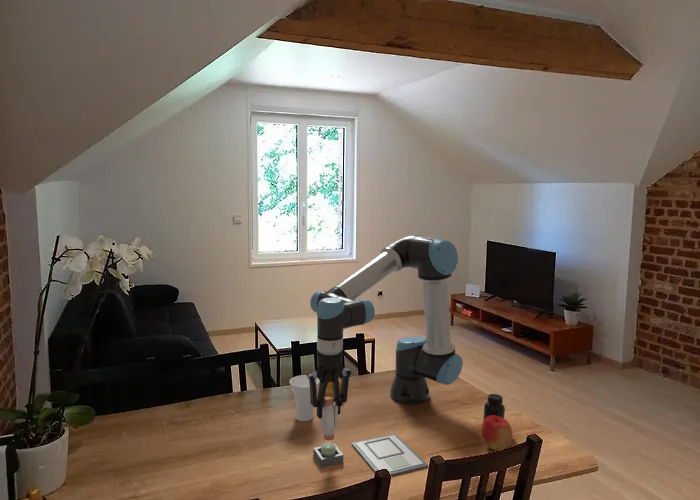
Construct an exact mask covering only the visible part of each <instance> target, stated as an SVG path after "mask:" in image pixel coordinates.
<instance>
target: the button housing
mask: <svg viewBox="0 0 700 500" xmlns="http://www.w3.org/2000/svg"><path fill="white" fill-rule="evenodd" d="M333 444H334V445H335V446H336V452H335V455H332V456H328V457H323V456H322V455H321V446H316V447H313V449H312V450H313V451H312V452H313V453H312V454H313V455H312V456H313V457H314V459H315V461H316V462H317V463H318V465H319V467H320V468H325V467H330V466H334V465H339V464H343V463H344V453H343V452H342V451H341V450H340V449H339V447H338V446H337V444H335V443H333Z"/></svg>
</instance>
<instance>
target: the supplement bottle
mask: <svg viewBox="0 0 700 500" xmlns="http://www.w3.org/2000/svg"><path fill="white" fill-rule="evenodd" d="M503 398H504V397H503V396H502V395H501V394H498V393H497V394H496V393H489V394H488V395H487V401H486V402H485V403H484V407H483V419H482V422H483V421H484V419H485V418H486V417H488V416H490V415H495V416H499V417H502V418H504V419H505V414H506V407H505V405H504V404H503V401H504V400H503Z"/></svg>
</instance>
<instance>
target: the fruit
mask: <svg viewBox="0 0 700 500" xmlns="http://www.w3.org/2000/svg"><path fill="white" fill-rule="evenodd" d="M338 380H339V390H340V393H341V382H342V380H340V379H339V378H338ZM325 397H333V398H334V393H333V387H332V382H329V383H328V385H327V387H326V392H325Z"/></svg>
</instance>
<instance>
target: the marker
mask: <svg viewBox="0 0 700 500" xmlns="http://www.w3.org/2000/svg"><path fill="white" fill-rule="evenodd" d="M334 402H335V400H334V398H333V397H325V398H324V404H323V406H324V407H325V429H322V430H323V431H322V432H323V433H322V434H323V440H326V441H333V440H334V439H335V432H336V431H335V430H336V429H335V428H336V427H335V426H334Z"/></svg>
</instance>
